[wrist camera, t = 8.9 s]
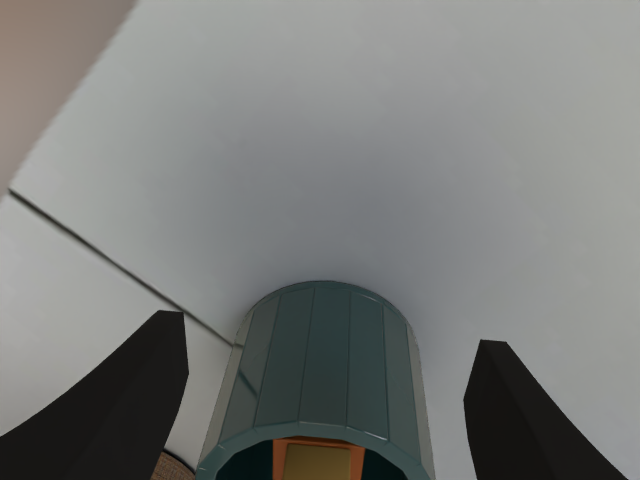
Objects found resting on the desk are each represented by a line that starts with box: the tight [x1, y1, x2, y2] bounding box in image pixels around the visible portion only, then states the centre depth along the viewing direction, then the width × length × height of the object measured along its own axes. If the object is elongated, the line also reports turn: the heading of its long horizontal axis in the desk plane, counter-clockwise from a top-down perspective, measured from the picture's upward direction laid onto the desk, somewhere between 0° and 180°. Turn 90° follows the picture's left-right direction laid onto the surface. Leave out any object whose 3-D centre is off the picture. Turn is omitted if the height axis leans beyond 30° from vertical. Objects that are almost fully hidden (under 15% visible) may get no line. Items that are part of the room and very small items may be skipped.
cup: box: [195, 281, 436, 480], centre depth 22 cm, size 8×8×8 cm
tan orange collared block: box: [273, 436, 365, 480], centre depth 21 cm, size 8×3×2 cm
